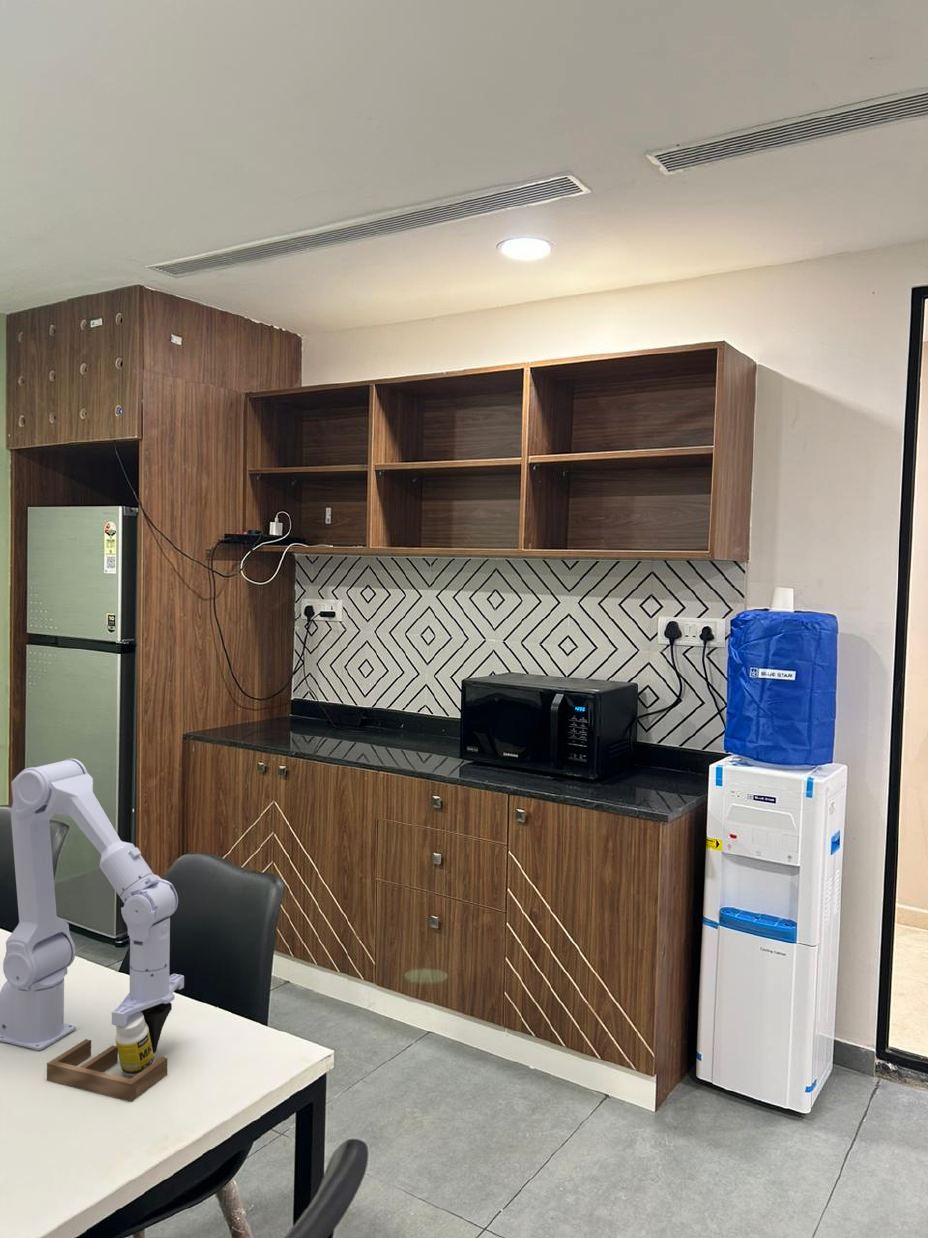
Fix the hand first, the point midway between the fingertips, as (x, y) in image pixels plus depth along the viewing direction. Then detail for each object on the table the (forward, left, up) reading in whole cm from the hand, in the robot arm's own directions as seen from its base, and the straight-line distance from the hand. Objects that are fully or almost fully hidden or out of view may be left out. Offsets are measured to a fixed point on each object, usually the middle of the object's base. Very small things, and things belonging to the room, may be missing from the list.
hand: (148, 1052), depth 145 cm
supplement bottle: (0, -2, -1) cm, 3 cm away
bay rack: (-3, -6, -1) cm, 7 cm away
